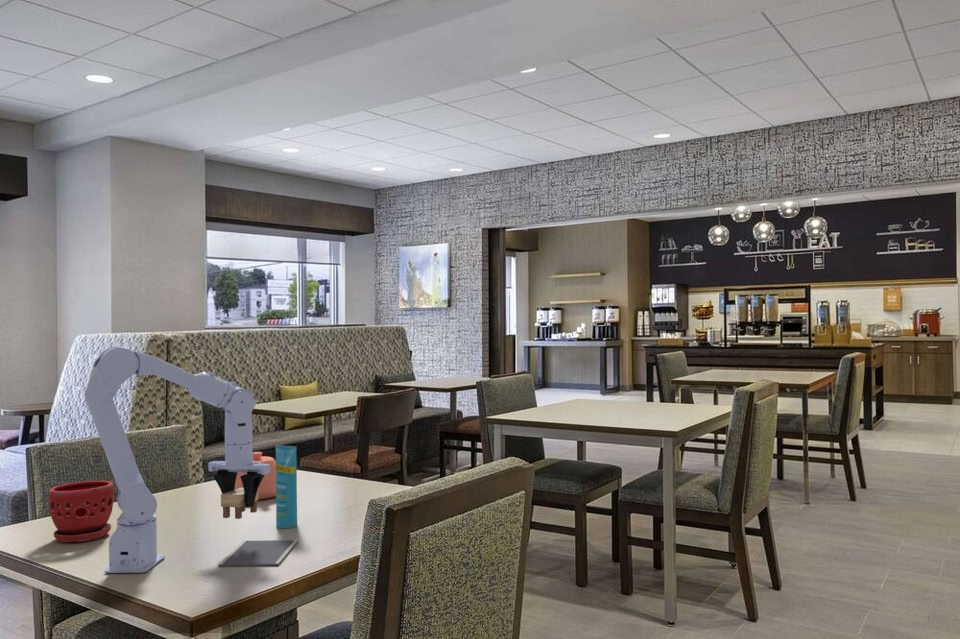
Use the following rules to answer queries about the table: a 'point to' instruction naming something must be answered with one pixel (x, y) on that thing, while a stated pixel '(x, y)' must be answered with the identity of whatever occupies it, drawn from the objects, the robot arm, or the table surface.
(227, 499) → the stool
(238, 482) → the teapot
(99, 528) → the plant pot
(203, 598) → the table surface
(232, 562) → the mat
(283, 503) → the tube
